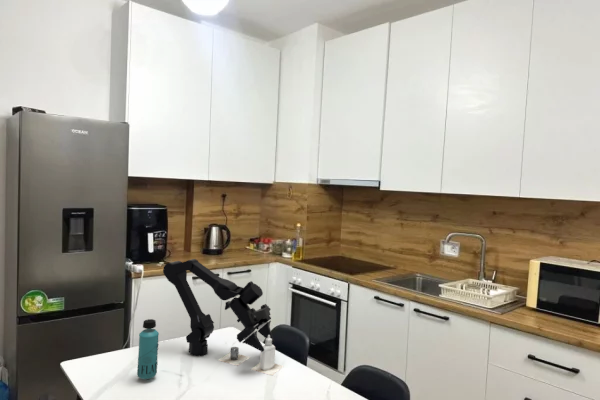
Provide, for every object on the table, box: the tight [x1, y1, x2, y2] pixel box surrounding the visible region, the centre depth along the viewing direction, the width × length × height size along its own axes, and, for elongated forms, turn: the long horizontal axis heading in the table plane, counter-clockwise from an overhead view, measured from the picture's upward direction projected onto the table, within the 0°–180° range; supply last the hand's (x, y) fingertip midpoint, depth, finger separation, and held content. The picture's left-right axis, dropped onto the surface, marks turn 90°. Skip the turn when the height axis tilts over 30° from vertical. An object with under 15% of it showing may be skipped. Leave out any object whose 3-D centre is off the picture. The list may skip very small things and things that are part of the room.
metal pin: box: [230, 346, 240, 360], centre depth 154 cm, size 3×3×4 cm
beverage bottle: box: [136, 318, 160, 380], centre depth 136 cm, size 6×7×20 cm
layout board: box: [217, 351, 284, 376], centre depth 150 cm, size 24×12×1 cm, turn 65°
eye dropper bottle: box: [259, 335, 276, 370], centre depth 148 cm, size 4×6×12 cm
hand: (268, 346), depth 148 cm, fingers open, 9 cm apart
